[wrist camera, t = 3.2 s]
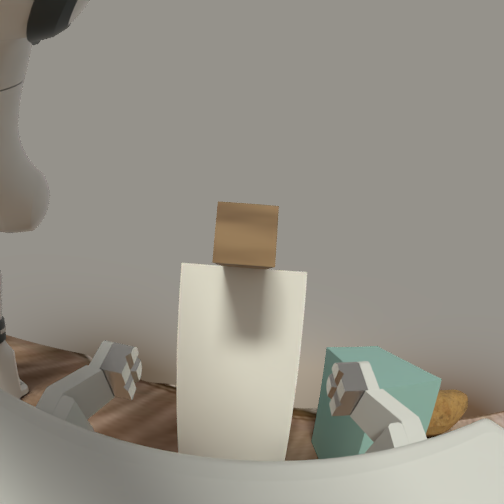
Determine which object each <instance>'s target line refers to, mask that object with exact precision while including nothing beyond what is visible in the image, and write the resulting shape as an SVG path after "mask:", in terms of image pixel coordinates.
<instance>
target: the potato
mask: <svg viewBox="0 0 504 504" xmlns="http://www.w3.org/2000/svg"><path fill="white" fill-rule="evenodd" d="M467 406H468V398H467V395H466V394H464V393H463V392H461V391H458V390H440V391H439V392H438V396H437V399H436V403H435V407H434V410H433V413H432V417H431V420H430V423H429V426H428V429H427V432H426V437H429V436H435V435H438V434H442V433H444V432H446V431H447V430H449V429H450V428H451V427H452V426H453V425H454V424H456V423H457V422H458V421H459V420H460V418H461V417H462V416H463V414H464V412H465V411H466V409H467Z"/></svg>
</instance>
